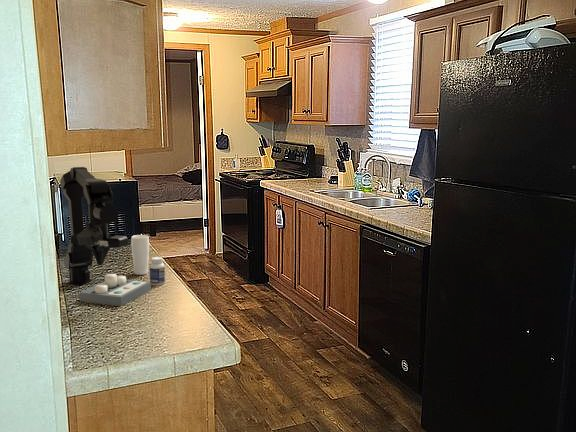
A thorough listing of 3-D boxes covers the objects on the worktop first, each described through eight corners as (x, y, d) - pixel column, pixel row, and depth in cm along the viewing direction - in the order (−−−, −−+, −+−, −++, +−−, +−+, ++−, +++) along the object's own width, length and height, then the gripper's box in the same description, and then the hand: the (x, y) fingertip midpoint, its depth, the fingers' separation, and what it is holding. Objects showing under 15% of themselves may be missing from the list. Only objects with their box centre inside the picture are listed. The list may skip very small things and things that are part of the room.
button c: (112, 288, 190) (112, 278, 190) (119, 285, 194) (118, 275, 194) (122, 289, 189) (121, 279, 189) (128, 286, 193) (128, 276, 192)
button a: (92, 298, 180) (92, 287, 179) (100, 294, 184) (99, 283, 183) (103, 299, 179) (102, 288, 178) (110, 295, 183) (109, 285, 182)
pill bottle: (161, 286, 197) (160, 260, 196) (147, 285, 198) (146, 259, 197) (167, 282, 203) (166, 256, 201) (153, 281, 204) (153, 256, 202)
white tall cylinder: (128, 274, 212) (127, 237, 209) (139, 270, 218) (138, 234, 215) (143, 276, 209) (141, 238, 207) (153, 272, 215) (152, 235, 213)
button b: (102, 287, 185) (102, 276, 184) (109, 283, 189) (109, 273, 188) (112, 288, 184) (112, 277, 183) (119, 284, 187) (119, 274, 187)
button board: (79, 301, 180) (79, 291, 179) (112, 286, 197) (111, 277, 196) (121, 306, 175) (121, 296, 175) (150, 290, 192) (150, 281, 192)
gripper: (57, 221, 172) (60, 268, 175) (107, 225, 167) (110, 273, 169) (80, 215, 183) (82, 260, 185) (128, 219, 177) (130, 265, 180)
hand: (100, 265), depth 180 cm, fingers closed
